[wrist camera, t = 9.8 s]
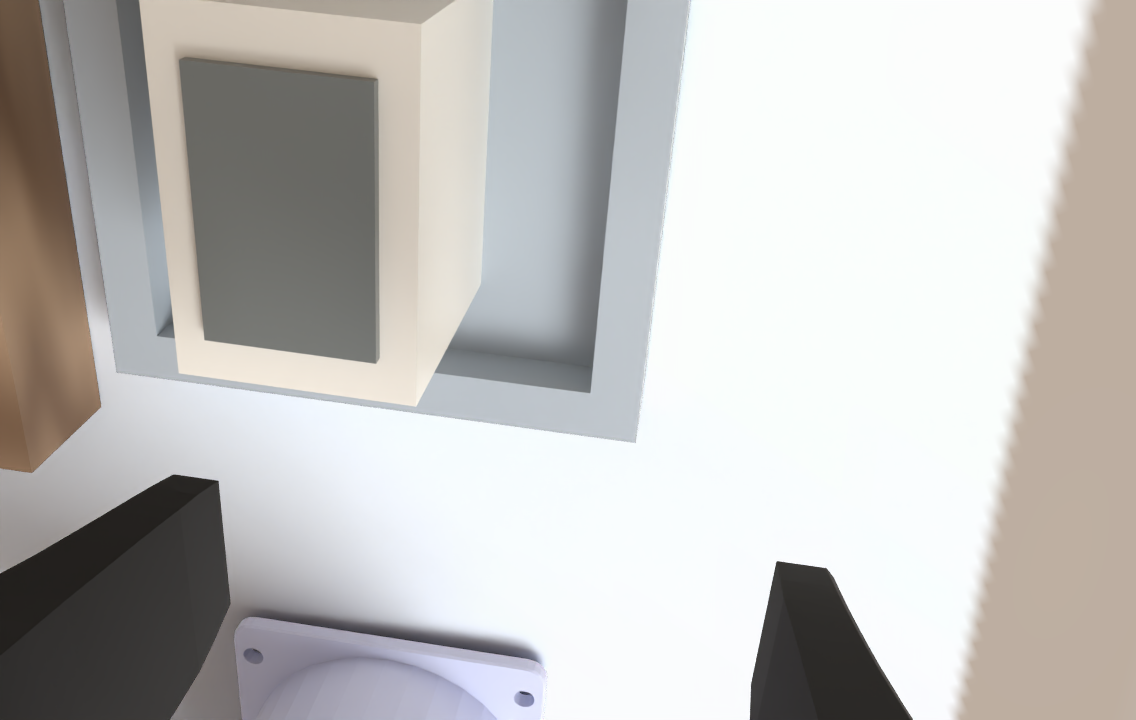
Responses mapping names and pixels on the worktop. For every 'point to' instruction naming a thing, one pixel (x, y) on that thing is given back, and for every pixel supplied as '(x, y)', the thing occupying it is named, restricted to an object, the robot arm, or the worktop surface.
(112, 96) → the tray
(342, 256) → the block
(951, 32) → the worktop surface
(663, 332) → the worktop surface
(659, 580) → the worktop surface
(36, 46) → the open case
